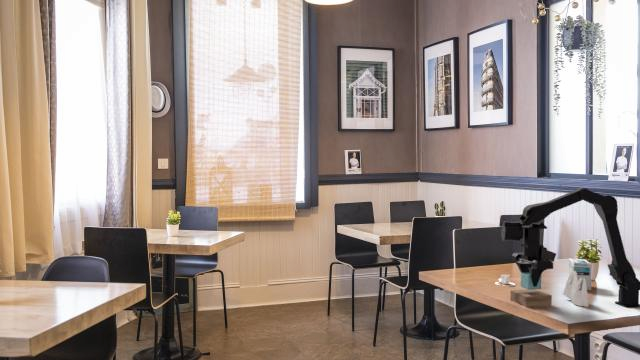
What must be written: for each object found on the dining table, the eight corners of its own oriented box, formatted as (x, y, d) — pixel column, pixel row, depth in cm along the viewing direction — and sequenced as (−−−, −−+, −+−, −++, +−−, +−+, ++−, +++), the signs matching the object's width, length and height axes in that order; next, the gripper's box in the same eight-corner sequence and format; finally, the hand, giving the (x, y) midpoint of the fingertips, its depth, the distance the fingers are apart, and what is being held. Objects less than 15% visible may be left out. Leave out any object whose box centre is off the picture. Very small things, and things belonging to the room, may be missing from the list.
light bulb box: (591, 290, 240) (592, 263, 240) (573, 289, 241) (573, 262, 241) (585, 285, 251) (586, 258, 250) (567, 284, 252) (568, 258, 251)
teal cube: (541, 289, 217) (541, 274, 217) (528, 289, 216) (528, 275, 216) (533, 286, 222) (533, 272, 222) (520, 286, 221) (521, 272, 221)
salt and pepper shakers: (561, 298, 226) (562, 268, 226) (572, 298, 227) (573, 268, 226) (577, 306, 214) (578, 275, 214) (589, 306, 215) (590, 275, 214)
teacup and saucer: (498, 281, 258) (498, 272, 257) (517, 284, 253) (518, 274, 253) (492, 285, 250) (492, 275, 250) (512, 288, 246) (512, 277, 246)
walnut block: (551, 306, 216) (551, 295, 215) (525, 308, 213) (526, 296, 213) (534, 300, 225) (535, 289, 225) (510, 301, 223) (510, 290, 223)
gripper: (568, 244, 211) (566, 289, 211) (538, 237, 229) (537, 278, 230) (538, 245, 209) (537, 290, 209) (511, 237, 227) (510, 279, 228)
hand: (531, 284), depth 219 cm, fingers closed on teal cube, 5 cm apart
